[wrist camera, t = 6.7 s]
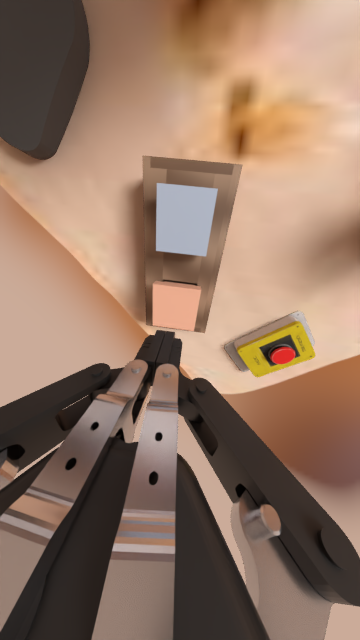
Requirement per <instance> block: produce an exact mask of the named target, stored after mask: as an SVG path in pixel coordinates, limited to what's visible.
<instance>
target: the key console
mask: <svg viewBox="0 0 360 640" xmlns="http://www.w3.org/2000/svg"><path fill="white" fill-rule="evenodd" d="M241 169H242V165H240V164H229V163H218V162H207V161H196V160H185V159H174V158H163V157H152V156H143V195H144V240H145V285H146V325H150V326H153V283H154V282H155V281H161V282H165V281H166V282H174V283H182V284H190V285H195V286H201V294H200V300H199V305H198V311H197V317H196V322H195V328H194V332H202V333H205V330H206V325H207V321H208V316H209V312H210V307H211V303H212V298H213V294H214V290H215V285H216V281H217V276H218V272H219V267H220V263H221V258H222V254H223V249H224V245H225V241H226V236H227V232H228V227H229V223H230V218H231V214H232V209H233V205H234V200H235V196H236V192H237V187H238V183H239V178H240V174H241ZM157 183H164V184H174V185H184V186H194V187H205V188H215V189H218V191H217V197H216V203H215V208H214V214H213V220H212V226H211V231H210V237H209V243H208V249H207V254H206V257H205V256H197V255H188V254H180V253H171V252H162V251H156V208H157ZM158 327H160V326H158ZM165 328H168V327H165ZM172 329H175V328H172ZM180 330H182V329H180ZM187 331H190V330H187Z"/></svg>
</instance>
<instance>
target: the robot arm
mask: <svg viewBox="0 0 360 640" xmlns="http://www.w3.org/2000/svg"><path fill="white" fill-rule="evenodd" d="M181 350H182V342H181V339H177V338H175V332H170V331H162V330H157V331H156V334H155V336H154V335H149V336H148V337H147V338H146V339H145V341H144V342H143V344H142V347H141V348H140V350H139V352H138V353H137V356H136V357H135V359H134V360H133V361H130V362H129V363H128V364H127V365H126V366H125V367H124V368H118V369H110V367H109V365H107V364H104V363H99V364H95V365H92V366H90V367H88V368H86V369H84V370H81V371H79V372H77V373H75V374H73V375H70V376H68V377H66V378H64V379H62V380H60V381H57V382H55V383H53V384H51V385H49V386H46V387H44V388H42V389H40V390H37V391H35V392H33V393H31V394H29V395H27V396H24V397H22V398H20V399H18V400H16V401H13V402H11V403H9V404H7V405H5V406H2V407H0V640H324V637H325V632H326V628H327V624H328V619H329V614H330V610H331V606H332V605H333V604H334V603H340V604H347V605H353V606H360V558H359V556H358V554H357V552H356V550H355V549H354V547H353V545H352V543H351V542H350V540H349V539H348V537H347V536H346V535H345V533H344V532H343V531H342V530H341V528H340V527H339V526H338V525H337V524H336V522H335V521H334V520H333V519H332V518H331V517H330V516H329V515H328V514H327V512H326V511H325V510H324V509H323V508H322V507H321V506H320V505H319V504H318V502H317V501H316V500H315V499H314V498H313V497H312V496H311V495H310V494H309V493H308V492H307V490H306V489H305V488H304V487H303V486H302V485H301V483H300V482H299V481H298V480H297V479H296V478H295V477H294V476H293V475H292V474H291V472H290V471H289V470H288V469H287V468H286V467H285V466H284V465H283V463H282V462H281V461H280V460H279V459H278V458H277V457H276V456H275V455H274V454H273V452H272V451H271V450H270V449H269V448H268V447H267V446H266V445H265V444H264V442H263V441H262V440H261V439H260V438H259V437H258V436H257V435H256V433H255V432H254V431H253V430H252V429H251V428H250V427H249V426H248V425H247V423H246V422H245V421H244V420H243V419H242V418H241V417H240V416H239V414H238V413H237V412H236V411H235V410H234V409H233V408H232V407H231V406H230V404H229V403H228V402H227V401H226V400H225V399H224V398H223V397H222V396H221V394H220V393H219V392H218V391H217V390H216V389H215V388H214V387H213V386H212V384H211V383H210V382H209V381H207V380H206V379H203V378H195V379H193V380H190V379H188V378H186V377H185V376H183V375H182V373H181V372H180V369H179V365H180V357H181ZM150 386H153V388H152V392H151V397H150V401H149V403H148V404H147V407H146V412H145V417H144V420H143V425H142V429H141V434H140V438H139V442H133V443H132V441H133V438H134V433H135V428H136V426H137V423H138V420H139V418H140V415H141V413H142V410H143V408H144V405H145V403H146V400H147V398H148V392H149V389H150ZM87 395H88V396H87ZM85 396H86V397H85ZM83 397H85V398H83ZM82 398H83V399H82ZM80 399H81V400H80ZM78 400H80V401H78ZM76 401H78V402H76ZM75 402H76V403H75ZM73 403H74V404H73ZM71 404H73V405H71ZM69 405H71V406H69ZM68 406H69V407H68ZM66 407H67V408H66ZM64 408H66V409H64ZM62 409H63V410H62ZM178 414H180V415H181V416H183V417H184V419H185V421H186V423H187V425H188V427H189V428H190V430H191V432H192V433H193V435H194V437H195V439H196V440H197V442H198V444H199V445H200V447H201V449H202V451H203V452H204V454H205V456H206V458H207V459H208V461H209V463H210V464H211V466H212V468H213V469H214V471H215V473H216V475H217V476H218V478H219V480H220V482H221V483H222V485H223V487H224V489H225V490H226V492H227V494H228V495H229V497H230V499H231V501H232V502H233V506H232V510H231V526H232V531H233V535H234V538H235V541H236V543H237V545H238V548H239V550H240V553H241V556H242V560H243V564H244V569H245V576H246V585H245V583H244V581H243V579H242V576H241V574H240V572H239V570H238V568H237V565H236V563H235V561H234V559H233V557H232V555H231V552H230V550H229V548H228V546H227V544H226V541H225V539H224V537H223V535H222V533H221V531H220V528H219V526H218V524H217V522H216V520H215V518H214V515H213V513H212V511H211V509H210V507H209V504H208V502H207V500H206V498H205V496H204V493H203V491H202V489H201V487H200V485H199V483H198V480H197V478H196V476H195V474H194V472H193V470H192V469H191V467H190V466H189V464H188V463H187V462H186V461H185V459H183V457H182V456H181V455H179V454H178V453H177V434H178V432H177V431H178ZM63 440H64V441H63ZM62 441H63V443H62V444H61V445H60V447H58V448H57V449H55V450H54V451H52V452H51V453H50V454H48V455H47V456H46V457H44V458H43V459H41V460H40V461H39V462H37V463H36V464H35V465H33V466H32V467H31V468H29V469H28V470H27V471H25V472H24V473H23V474H21V475H20V476H18V477H17V478H16V479H14V477H15V476H16V474H17V473H18V472H19V471H20V470H22V469H23V468H25V467H26V466H28V465H29V464H31V463H32V462H33V461H35V460H36V459H38V458H39V457H41V456H42V455H43V454H45V453H46V452H48V451H49V450H51V449H52V448H53V447H55V446H56V445H58V444H59V443H61V442H62Z"/></svg>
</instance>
